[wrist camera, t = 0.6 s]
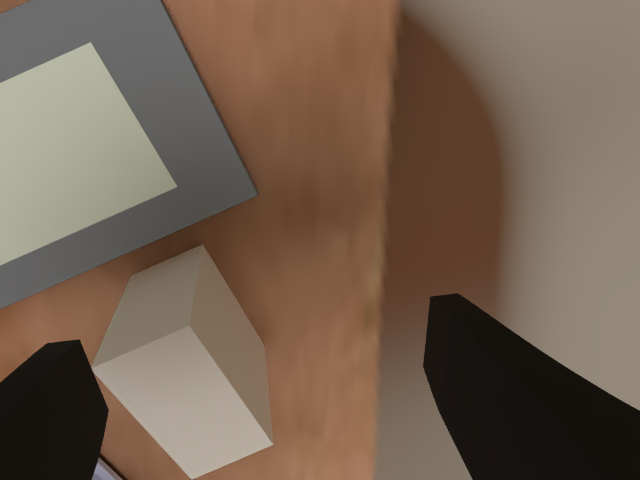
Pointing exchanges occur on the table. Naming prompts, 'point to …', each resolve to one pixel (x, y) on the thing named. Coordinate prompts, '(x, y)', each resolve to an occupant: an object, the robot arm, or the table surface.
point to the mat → (102, 139)
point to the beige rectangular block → (188, 364)
